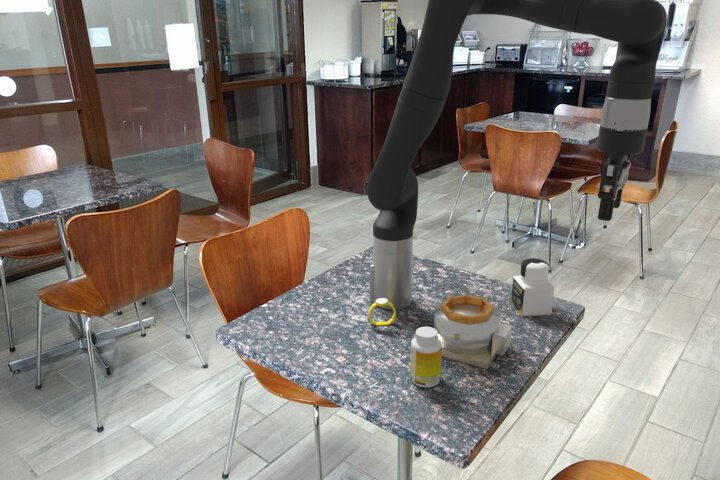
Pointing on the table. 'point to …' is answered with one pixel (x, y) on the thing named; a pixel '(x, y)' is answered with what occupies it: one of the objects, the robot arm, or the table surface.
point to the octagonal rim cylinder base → (471, 330)
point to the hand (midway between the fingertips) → (608, 213)
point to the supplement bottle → (426, 357)
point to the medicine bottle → (533, 289)
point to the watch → (382, 303)
